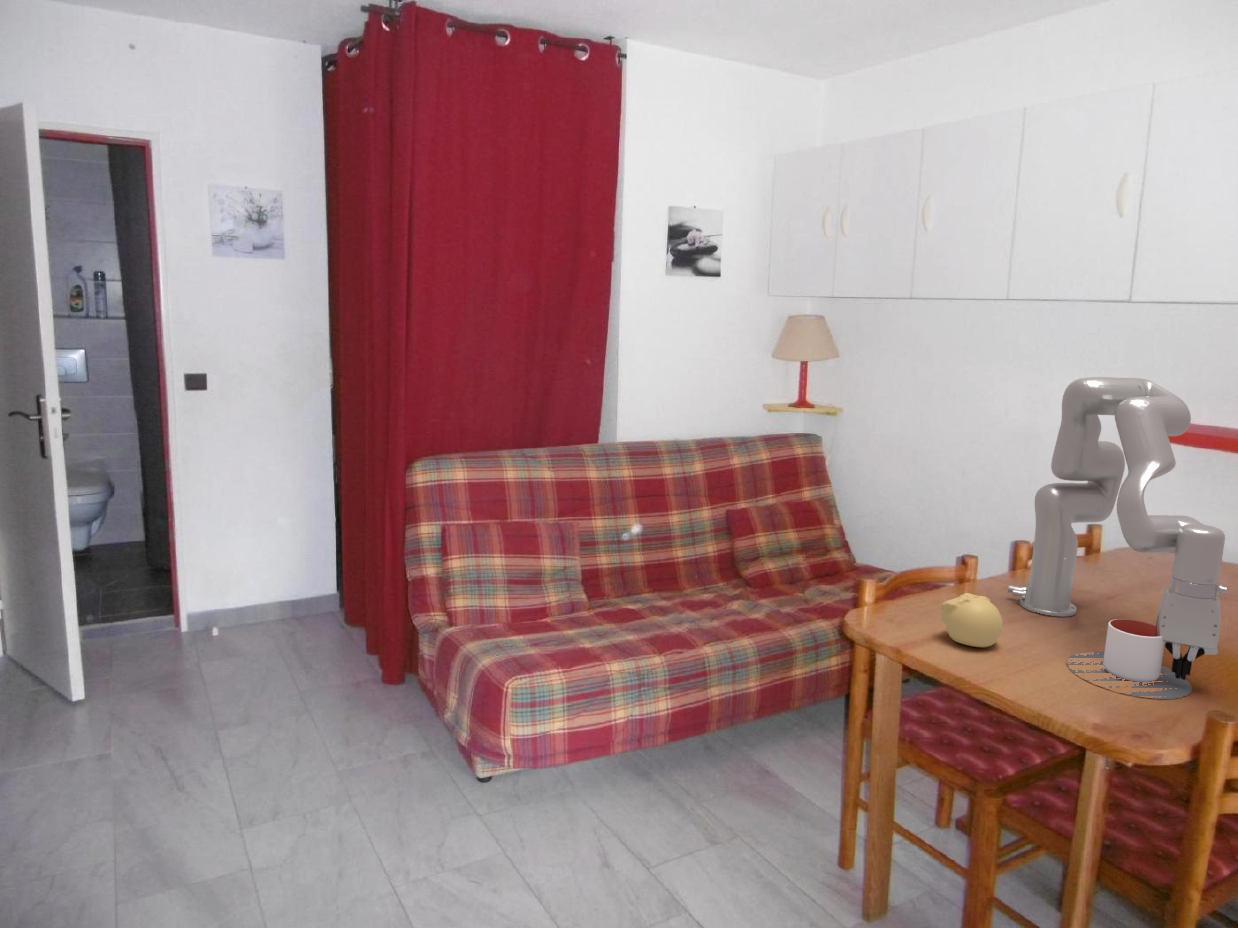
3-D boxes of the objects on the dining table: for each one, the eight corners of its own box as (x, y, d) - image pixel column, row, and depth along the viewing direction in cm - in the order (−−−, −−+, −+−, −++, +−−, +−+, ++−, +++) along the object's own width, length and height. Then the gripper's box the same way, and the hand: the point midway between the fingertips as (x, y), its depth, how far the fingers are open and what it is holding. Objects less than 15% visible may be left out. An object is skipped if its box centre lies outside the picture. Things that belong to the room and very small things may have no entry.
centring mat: (1063, 680, 168) (1063, 680, 168) (1069, 644, 187) (1069, 643, 187) (1195, 710, 157) (1195, 709, 157) (1187, 668, 176) (1188, 667, 176)
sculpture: (970, 628, 195) (975, 584, 193) (1011, 649, 184) (1017, 602, 182) (930, 634, 191) (935, 589, 188) (970, 655, 180) (975, 607, 178)
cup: (1109, 659, 179) (1115, 615, 177) (1164, 674, 172) (1171, 627, 170) (1096, 673, 172) (1102, 627, 170) (1153, 689, 165) (1160, 641, 163)
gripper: (1238, 589, 163) (1223, 678, 167) (1147, 576, 171) (1135, 661, 174) (1243, 600, 157) (1228, 692, 160) (1148, 586, 164) (1136, 674, 168)
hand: (1180, 676), depth 167 cm, fingers closed
